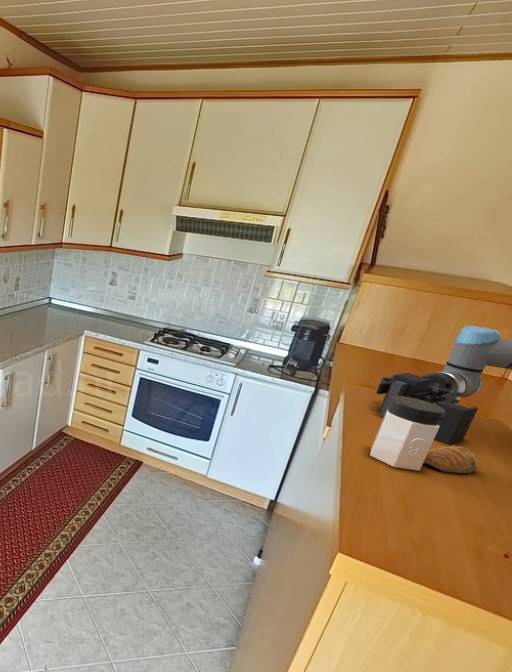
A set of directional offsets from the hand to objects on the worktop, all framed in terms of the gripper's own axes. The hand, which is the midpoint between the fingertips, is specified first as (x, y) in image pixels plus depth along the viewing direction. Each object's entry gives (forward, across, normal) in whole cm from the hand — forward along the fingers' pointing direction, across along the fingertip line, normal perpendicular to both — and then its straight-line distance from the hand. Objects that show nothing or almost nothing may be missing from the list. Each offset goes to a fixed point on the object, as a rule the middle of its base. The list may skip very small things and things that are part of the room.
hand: (395, 394), depth 118 cm
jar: (+27, -14, -6) cm, 31 cm away
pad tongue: (-4, 0, -6) cm, 7 cm away
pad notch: (0, -12, -6) cm, 13 cm away
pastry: (+18, -19, -6) cm, 27 cm away
